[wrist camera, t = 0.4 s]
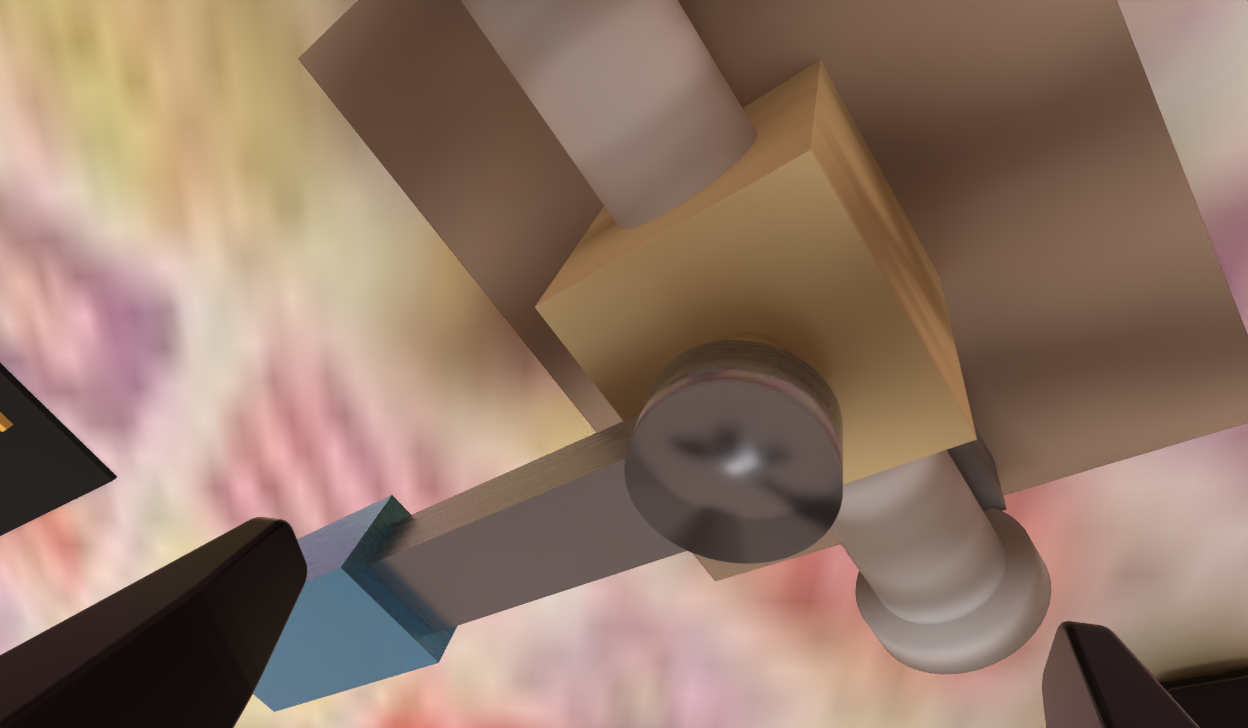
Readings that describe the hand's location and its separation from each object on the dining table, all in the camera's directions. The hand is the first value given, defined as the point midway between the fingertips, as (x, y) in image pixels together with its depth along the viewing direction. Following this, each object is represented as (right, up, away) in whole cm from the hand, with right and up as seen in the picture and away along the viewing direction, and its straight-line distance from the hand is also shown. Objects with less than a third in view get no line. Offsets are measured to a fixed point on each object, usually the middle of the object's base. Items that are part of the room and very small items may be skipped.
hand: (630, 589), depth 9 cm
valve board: (+4, +7, +11) cm, 14 cm away
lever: (-3, 0, +7) cm, 7 cm away
